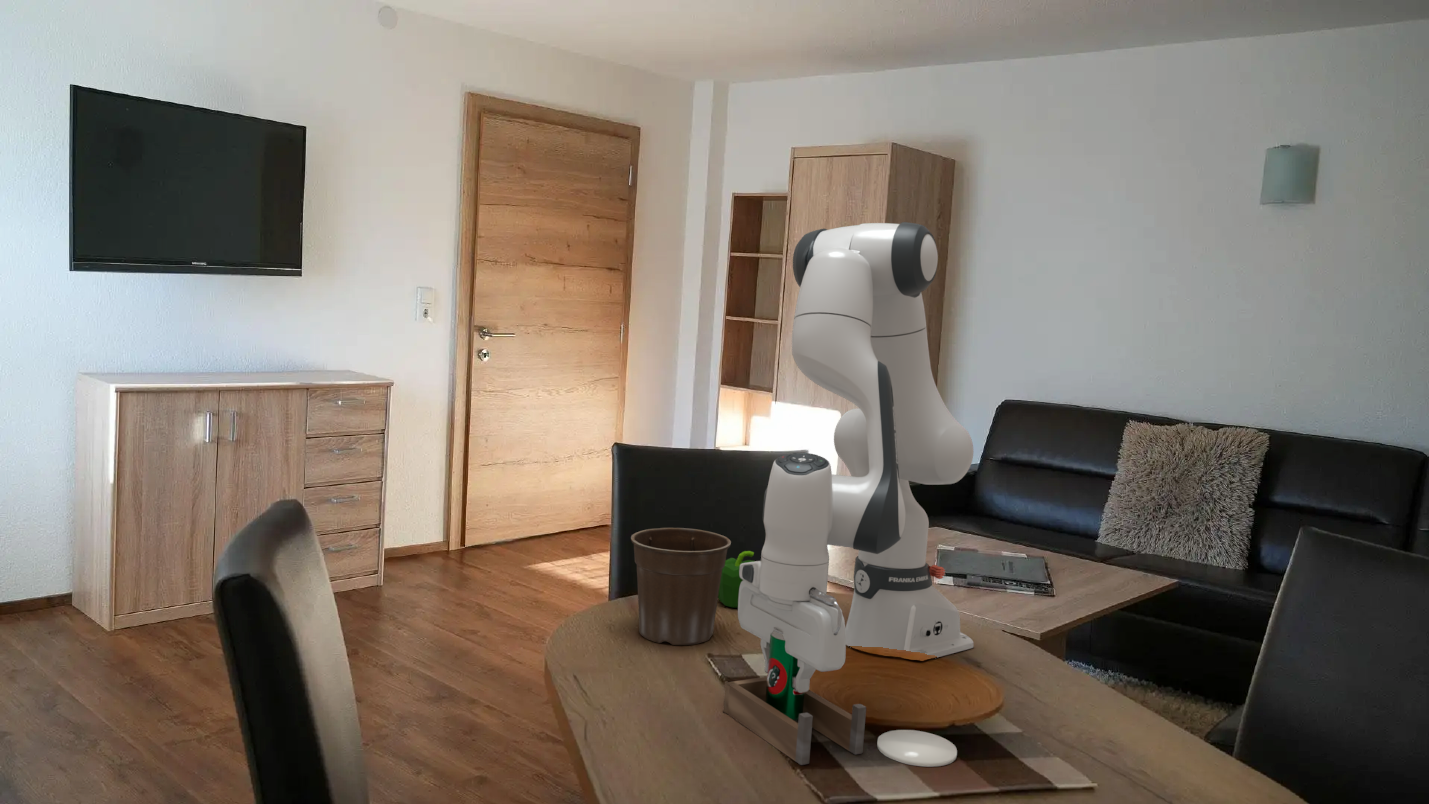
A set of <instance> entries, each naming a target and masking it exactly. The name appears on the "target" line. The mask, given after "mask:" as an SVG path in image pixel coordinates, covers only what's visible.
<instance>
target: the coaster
mask: <svg viewBox="0 0 1429 804" xmlns="http://www.w3.org/2000/svg"><path fill="white" fill-rule="evenodd" d="M876 743H877V745H876V746H877V750H879V752H880V753H881V754H882V755H883V756H885V757H887V758H889V759H891V760H894V761H896V762H899V763H901V764H906V765H910V766H917V767H927V768H931V767H934V768H935V767H941V766H946V765H947V766H948V765H950V764H952V763H953V762H955V761H956V759H957V756H958V750H957V747H956V745H955V744H953V742H952V741H950V740H948V739H946V738H944V737H942V736H940V735H937V734H933V733H930V732H926V731H922V730H921V731H920V730H915V729H896V730H889V731H887V732H884V733H882V734H881V735H879V736H878V737H877V742H876Z"/></svg>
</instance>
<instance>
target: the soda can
mask: <svg viewBox="0 0 1429 804" xmlns="http://www.w3.org/2000/svg"><path fill="white" fill-rule="evenodd" d="M783 634H784V632H783V631H779V630H777V629H776V628H775V627H774V630H773V631H772V633H771V634H770V645H769V659H768V672H767V673H766V674H767V675H766V677H767V686H766V699H765V702H766V703H767V704H769V705H770V706H772V707H773V708H775V709H777V710H778V711H780V712H781V713H783V714H784V715H786V716H787V717H789V718H791V719H792V720H794V721H795V722H798V720H799V714H801V713H803V707H804V694H805V692H801V693H799V692H798V691H796V690H794V689H793V688H792V676H797V674H798V672H799V669H800V667H798V659H797V658H795V657H793V656H791V655H789V654H788V653H786V651H785V639H784V636H783Z"/></svg>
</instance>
